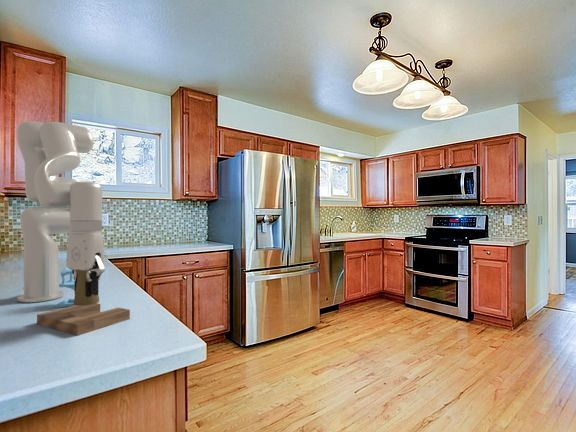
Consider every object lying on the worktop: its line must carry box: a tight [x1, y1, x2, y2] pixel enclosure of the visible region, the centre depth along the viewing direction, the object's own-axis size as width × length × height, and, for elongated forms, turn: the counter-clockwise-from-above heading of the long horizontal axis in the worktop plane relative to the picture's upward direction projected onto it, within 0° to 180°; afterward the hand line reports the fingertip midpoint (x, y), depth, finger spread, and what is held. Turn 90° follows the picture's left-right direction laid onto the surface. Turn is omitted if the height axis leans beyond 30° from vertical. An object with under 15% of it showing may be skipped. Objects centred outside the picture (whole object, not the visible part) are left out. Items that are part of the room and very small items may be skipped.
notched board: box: [36, 302, 131, 336], centre depth 87 cm, size 18×14×2 cm
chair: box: [54, 267, 75, 309], centre depth 104 cm, size 8×8×12 cm
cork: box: [73, 267, 100, 306], centre depth 88 cm, size 6×6×11 cm
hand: (86, 294), depth 88 cm, fingers closed on cork, 4 cm apart
